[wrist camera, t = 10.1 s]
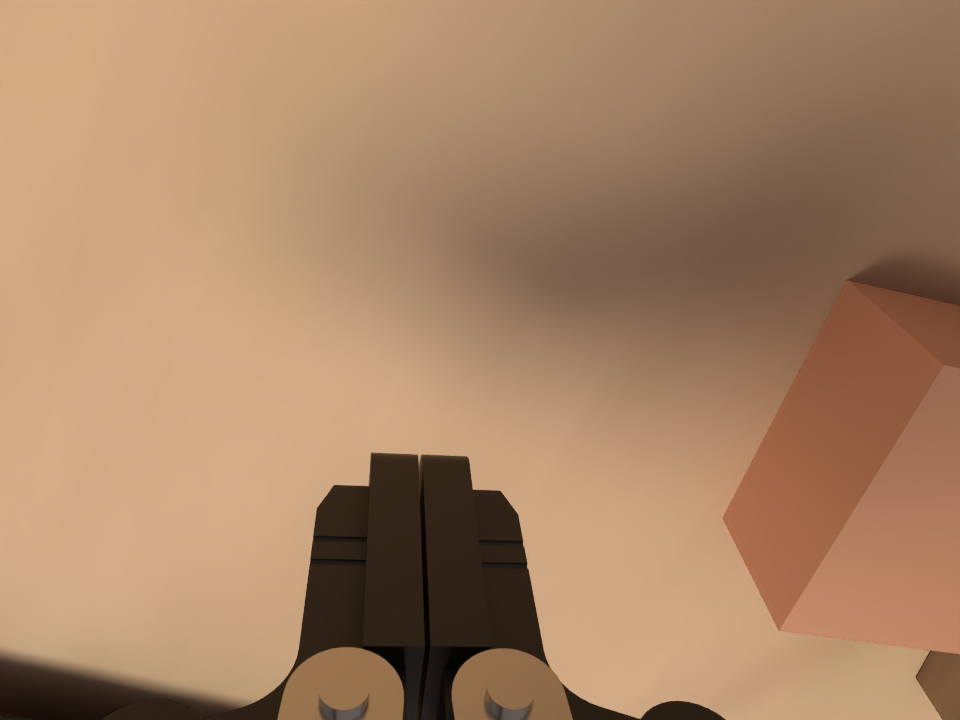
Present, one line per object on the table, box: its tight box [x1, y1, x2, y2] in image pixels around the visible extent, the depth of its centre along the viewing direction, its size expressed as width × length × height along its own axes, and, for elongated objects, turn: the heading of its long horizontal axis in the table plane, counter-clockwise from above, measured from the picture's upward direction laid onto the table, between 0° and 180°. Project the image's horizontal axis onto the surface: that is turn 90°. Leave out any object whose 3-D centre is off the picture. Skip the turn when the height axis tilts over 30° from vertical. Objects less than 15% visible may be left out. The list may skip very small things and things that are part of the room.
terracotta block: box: [723, 280, 960, 654], centre depth 21 cm, size 8×8×4 cm
